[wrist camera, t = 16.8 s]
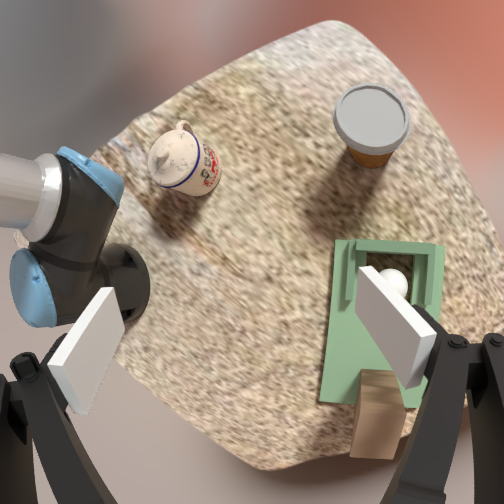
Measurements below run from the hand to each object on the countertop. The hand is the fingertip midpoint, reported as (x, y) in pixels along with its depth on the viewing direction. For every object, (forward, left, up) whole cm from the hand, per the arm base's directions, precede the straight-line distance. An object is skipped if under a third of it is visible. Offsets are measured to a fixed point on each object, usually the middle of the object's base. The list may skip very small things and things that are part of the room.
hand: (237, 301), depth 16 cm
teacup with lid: (-20, +17, -30) cm, 41 cm away
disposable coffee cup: (+8, +19, -30) cm, 37 cm away
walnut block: (+11, -16, -29) cm, 35 cm away
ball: (+11, -1, -28) cm, 30 cm away
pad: (+11, -7, -30) cm, 33 cm away
